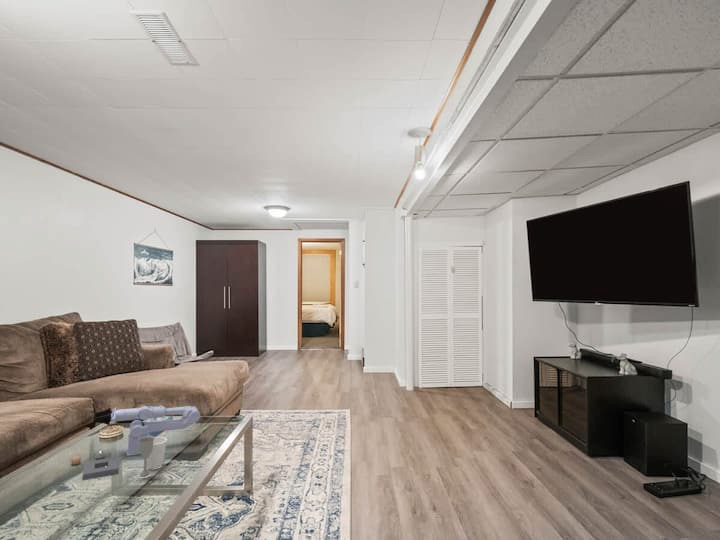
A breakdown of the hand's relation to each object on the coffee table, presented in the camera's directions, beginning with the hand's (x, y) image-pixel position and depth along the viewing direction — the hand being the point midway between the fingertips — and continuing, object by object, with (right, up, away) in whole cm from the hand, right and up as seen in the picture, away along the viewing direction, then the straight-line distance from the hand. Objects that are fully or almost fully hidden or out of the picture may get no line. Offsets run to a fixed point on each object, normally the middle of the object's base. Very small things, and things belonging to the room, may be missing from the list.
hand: (94, 417), depth 208 cm
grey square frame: (+10, -22, -11) cm, 26 cm away
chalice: (+33, -23, -15) cm, 43 cm away
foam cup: (+34, -23, -5) cm, 41 cm away
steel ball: (+2, -19, +1) cm, 19 cm away
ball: (-5, -19, -6) cm, 20 cm away
